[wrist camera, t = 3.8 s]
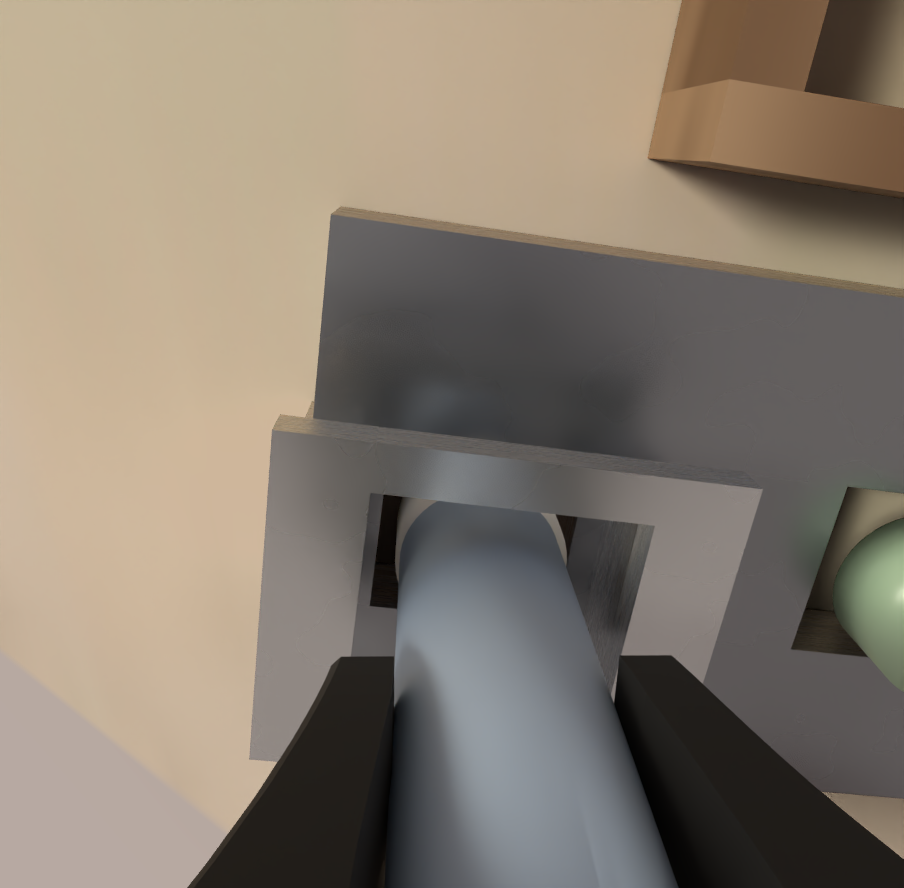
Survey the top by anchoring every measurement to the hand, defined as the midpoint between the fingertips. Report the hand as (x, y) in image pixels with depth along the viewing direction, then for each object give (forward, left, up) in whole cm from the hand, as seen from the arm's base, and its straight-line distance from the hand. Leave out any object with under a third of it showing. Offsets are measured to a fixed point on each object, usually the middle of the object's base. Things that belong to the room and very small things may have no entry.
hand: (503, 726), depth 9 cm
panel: (-4, 0, -6) cm, 8 cm away
